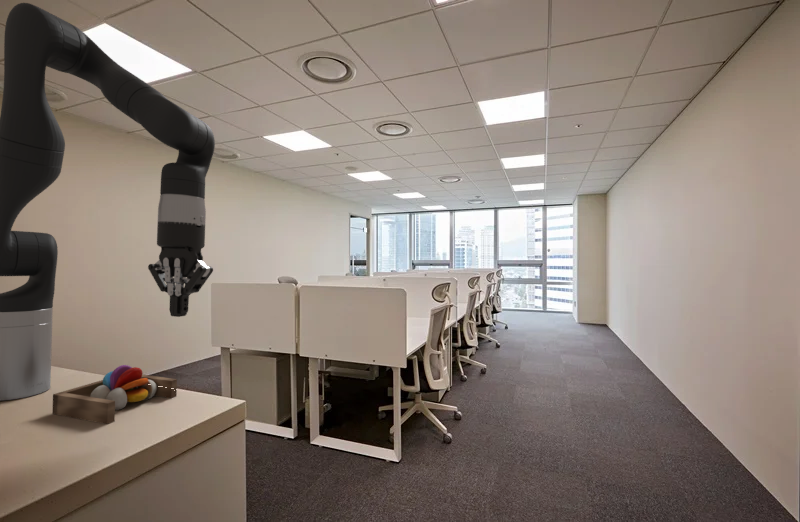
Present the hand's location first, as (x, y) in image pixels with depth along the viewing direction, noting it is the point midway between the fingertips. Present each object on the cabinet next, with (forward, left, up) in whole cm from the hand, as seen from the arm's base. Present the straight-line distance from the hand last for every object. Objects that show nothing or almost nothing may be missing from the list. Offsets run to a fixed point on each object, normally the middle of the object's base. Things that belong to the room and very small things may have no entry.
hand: (178, 315), depth 66 cm
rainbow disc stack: (-14, +1, -18) cm, 23 cm away
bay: (-13, 0, -18) cm, 22 cm away
